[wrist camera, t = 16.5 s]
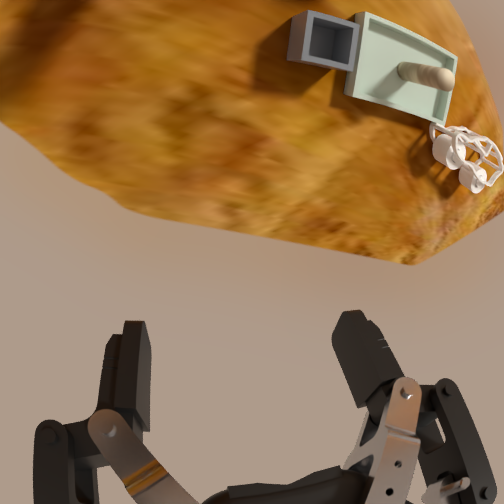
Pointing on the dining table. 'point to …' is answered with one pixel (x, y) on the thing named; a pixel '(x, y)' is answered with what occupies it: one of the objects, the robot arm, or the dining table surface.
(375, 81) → the tray
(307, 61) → the deep cup
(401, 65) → the dowel pin
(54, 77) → the dining table surface
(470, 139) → the white wireframe roller cage
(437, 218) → the dining table surface
